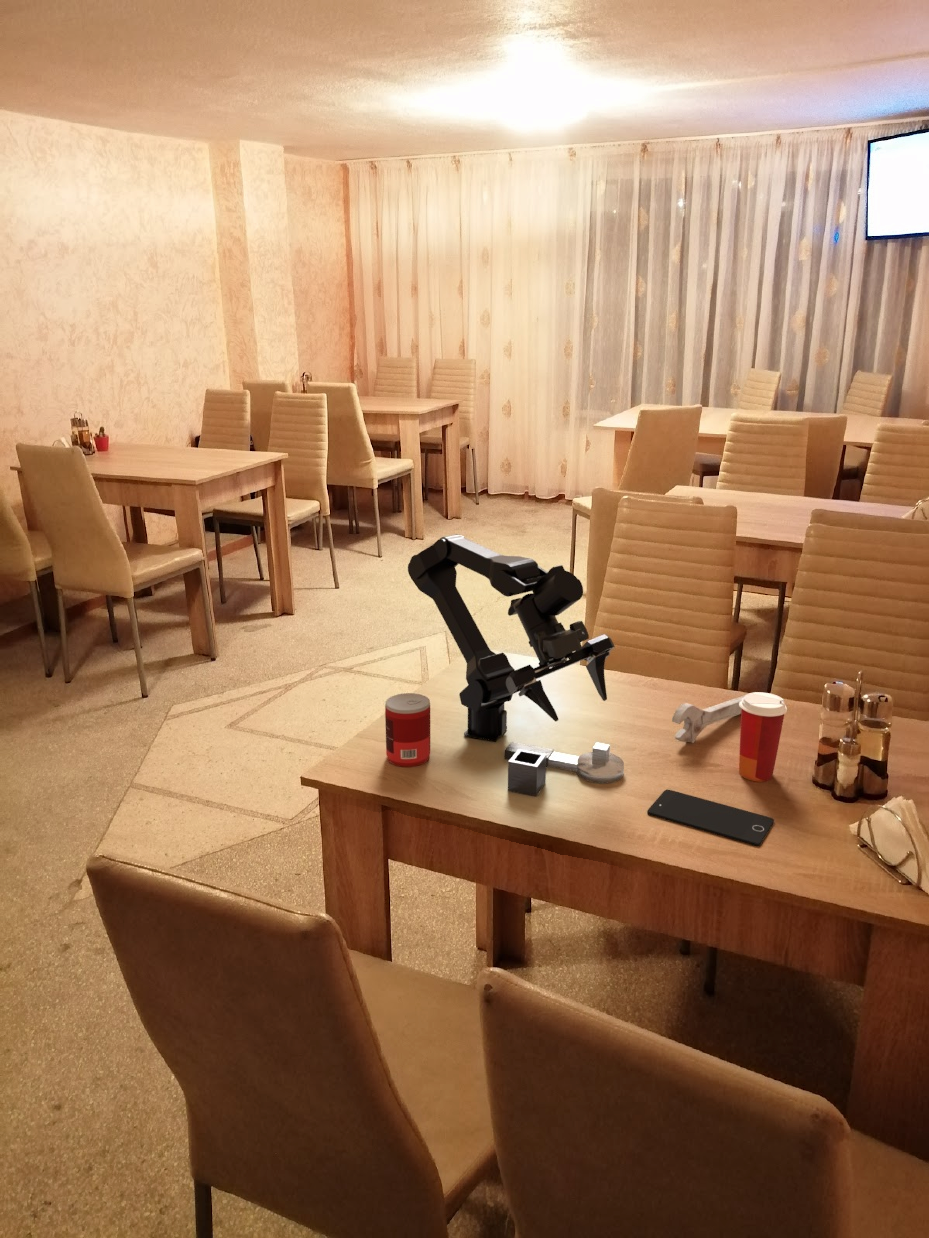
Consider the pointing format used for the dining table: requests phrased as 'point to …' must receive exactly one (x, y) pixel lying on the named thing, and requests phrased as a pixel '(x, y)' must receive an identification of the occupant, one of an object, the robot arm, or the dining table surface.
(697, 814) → the cell phone
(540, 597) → the robot arm
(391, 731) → the canned food
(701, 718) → the wrench
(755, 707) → the paper cup
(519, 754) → the socket
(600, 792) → the dining table surface
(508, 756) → the ratchet
